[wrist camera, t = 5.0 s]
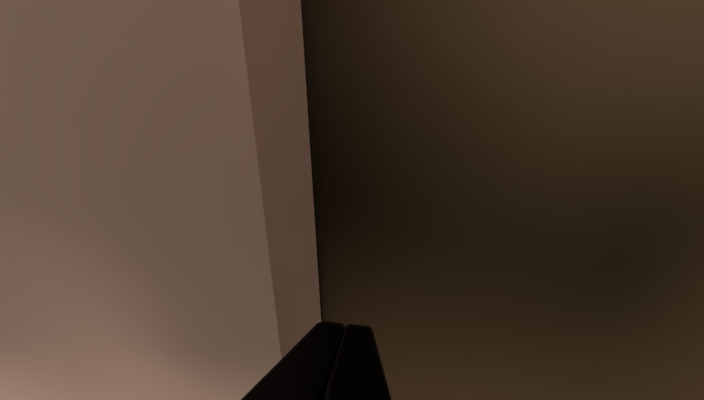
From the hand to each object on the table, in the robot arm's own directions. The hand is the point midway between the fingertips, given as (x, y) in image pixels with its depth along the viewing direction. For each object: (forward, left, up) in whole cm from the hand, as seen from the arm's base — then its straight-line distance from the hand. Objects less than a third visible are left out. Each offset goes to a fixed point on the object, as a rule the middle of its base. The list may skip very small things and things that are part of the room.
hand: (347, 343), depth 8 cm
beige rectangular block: (0, +1, -2) cm, 3 cm away
